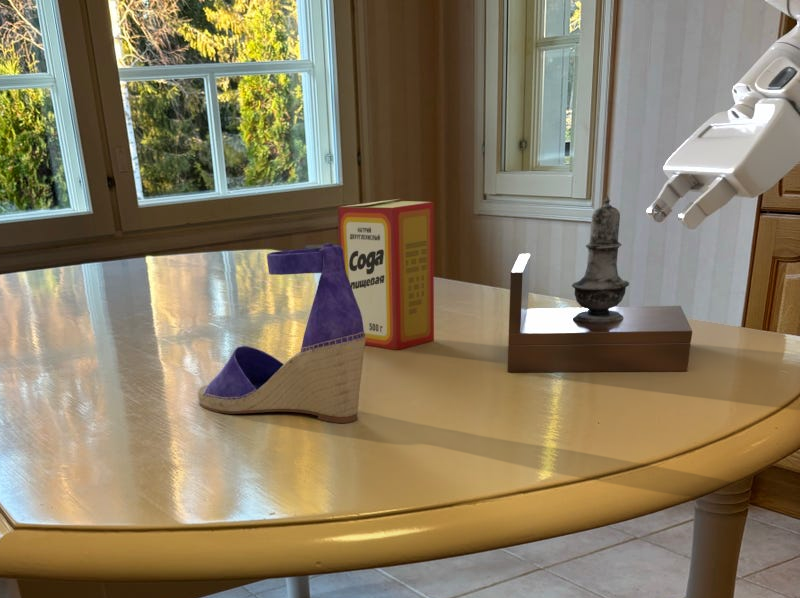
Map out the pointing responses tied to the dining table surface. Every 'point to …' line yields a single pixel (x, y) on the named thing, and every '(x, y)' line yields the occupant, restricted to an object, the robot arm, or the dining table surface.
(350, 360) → the sandal
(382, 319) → the baking soda box
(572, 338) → the wooden bookend
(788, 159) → the robot arm
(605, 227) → the salt shaker
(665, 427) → the dining table surface
